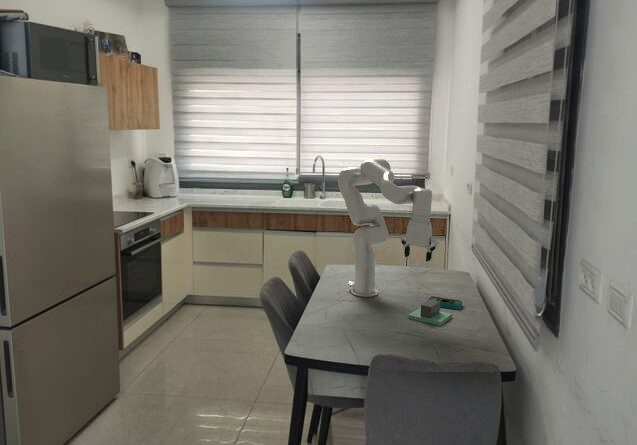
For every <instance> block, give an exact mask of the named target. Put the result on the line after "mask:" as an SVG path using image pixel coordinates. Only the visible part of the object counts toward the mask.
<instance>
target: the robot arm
mask: <svg viewBox="0 0 637 445" xmlns="http://www.w3.org/2000/svg"><path fill="white" fill-rule="evenodd" d="M394 181H395V174H394V172H393V171H392V169H391V165H390V163H389V161H388V160H386V159H383V158H374V159H373V158H369V159H366V160H364V161H363V162H362V163H361V164H360V166H358V167H357V166H354V167H346V168H344V169H342V170H341V171H340V172H339V174H338V178H337V185H338V186H337V187H338V190H339V192H340V194H341V196H342V198H343V200H344V203H345V207H346V210H347V212H348V215H349V219H350V220H351V223H352V225H354V226H362V227H359V228H358V229H356V230H355V231H354V233H353V245H354V252H355V253H354V256H355V257H354V281H351V280H350V281H348V284H347V286H348V287H351V288H352V289H351V291H350V293H351V295H354V296H357V297H364V298H368V297H375V296H377V295H378V294H379V290H378V289H376V260H377V258H376V253H375V251H374V248H373V247H378V246H383V245H385V244H386V243H388V241H389V237H390V236H389V230H388V227H387V224H386V221H385V217H384V215H383V213H382V210H381V209H380V207H379V206H378V205H377V204H373V203H369V204H366V203H365V201H364V198H363V195H362V193H361V192H360V190H359V189H357V188H356V186H364V185H365V186H367V185H368V186H369V185H371V184H375V185H376V186H377V187H379V190H380V192H381V195H382V196H383V197H384V198H385V199H386V200H388V201H389V202H391V203H392V204H394V205H399V206H400V205H409V204H412V209H411V214H410V213H409V214H408V217H409V218H410V220H409V221H408V225H407V228H406V232H405V233H404V234H401V235H400V236H399V239H400V242H401V244H402V245H403V248H404V249H403V250H404V252H403V253H404V257H405V258H407V257H410V253H411V252H410V251H411V246H414V247H419V248H425V249H426V251H427V252H426V254H425V255H426V256H425V262H430V261H431V259H432V256H433V255H432V254H433V252H434V250H436V249H437V247H438V246H439V244H440V242H439V241H437V240H436V239H435V238H433V228H432V222H431V212H432V200H433V191H432V190H431V189H429V188H423V187H420V186H417V185H402V186H401V185H400V186H398V185H397V184H395V183H394ZM365 225H366V226H365ZM368 225H369V226H368ZM432 244H433V246H432Z"/></svg>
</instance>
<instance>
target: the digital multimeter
mask: <svg viewBox="0 0 637 445" xmlns="http://www.w3.org/2000/svg"><path fill="white" fill-rule="evenodd" d="M430 299H431V300H436V301H440V308H445V309H451V310H456V311H459V310H461V309H462V307H463V301H462V300H459V299H452V298H446V297H440V296H439V297H438V296H433V295H431V296H430V297H428V298H427V300H426V302H427V301H429V300H430Z"/></svg>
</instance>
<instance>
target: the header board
mask: <svg viewBox="0 0 637 445" xmlns="http://www.w3.org/2000/svg"><path fill="white" fill-rule="evenodd" d="M407 316H408V317H407V318H408V319H409V320H414V321H418V322H423V323H427V324H432V325H436V326H442V325H443V324H445V323H446V322H448V321H449V320H450V319H452V318H453V314H452V313H451V312H450V313H449V312H445V311H441V310H440V313H438V314H437V315H435V316H434V317H432V318H431V319H430V318H426V317H421V307H419V308H417V309H416V310H414V311H412V312H411V313H409V314H408V315H407Z"/></svg>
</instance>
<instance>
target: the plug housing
mask: <svg viewBox="0 0 637 445" xmlns="http://www.w3.org/2000/svg"><path fill="white" fill-rule="evenodd" d="M420 308H421V317H426V318H430V319H431V318H432V317H434V316H435V315H437V314H438V313H440V311H441V307H440V301H436V300H431V299H430V300H429V301H427V300H426V301H425V302H424V303H422V304H421V305H420Z"/></svg>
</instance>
